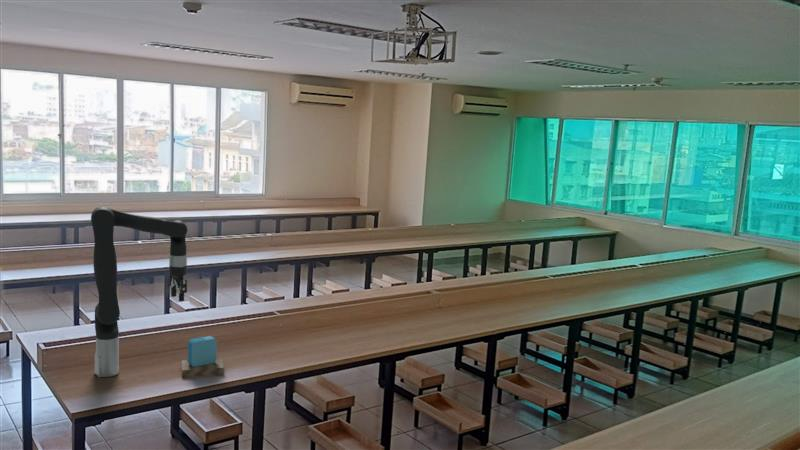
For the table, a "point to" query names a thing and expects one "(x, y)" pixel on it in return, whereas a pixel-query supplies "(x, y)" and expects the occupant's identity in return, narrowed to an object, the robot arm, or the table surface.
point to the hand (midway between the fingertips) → (177, 298)
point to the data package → (202, 351)
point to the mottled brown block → (202, 369)
